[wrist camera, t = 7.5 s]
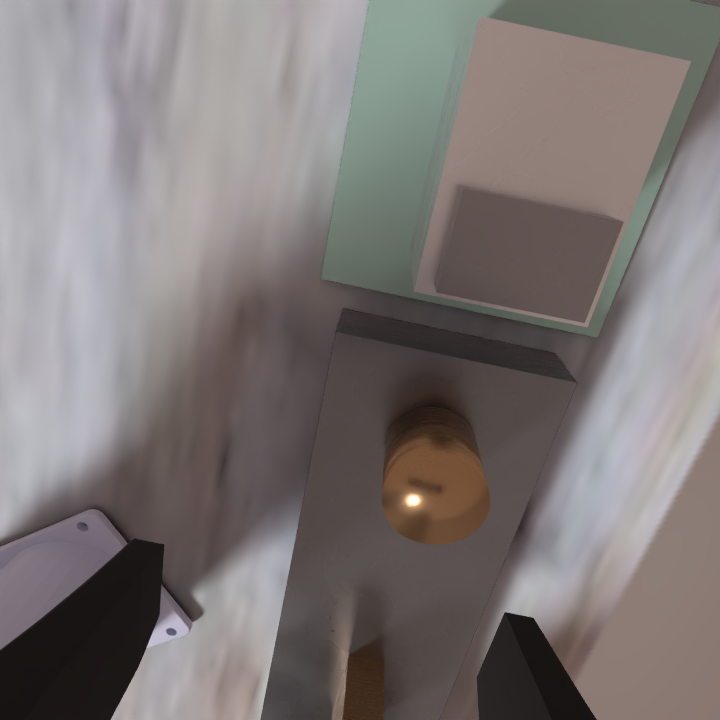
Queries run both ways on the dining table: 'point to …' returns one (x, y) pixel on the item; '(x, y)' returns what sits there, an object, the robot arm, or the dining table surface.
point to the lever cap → (538, 168)
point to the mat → (423, 110)
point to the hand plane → (407, 515)
